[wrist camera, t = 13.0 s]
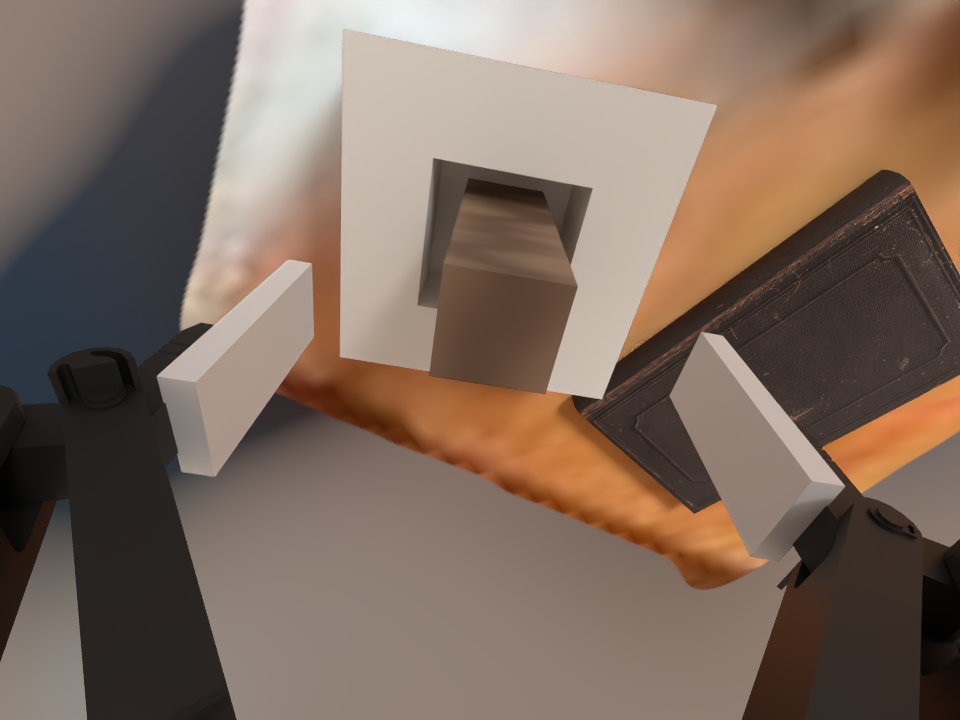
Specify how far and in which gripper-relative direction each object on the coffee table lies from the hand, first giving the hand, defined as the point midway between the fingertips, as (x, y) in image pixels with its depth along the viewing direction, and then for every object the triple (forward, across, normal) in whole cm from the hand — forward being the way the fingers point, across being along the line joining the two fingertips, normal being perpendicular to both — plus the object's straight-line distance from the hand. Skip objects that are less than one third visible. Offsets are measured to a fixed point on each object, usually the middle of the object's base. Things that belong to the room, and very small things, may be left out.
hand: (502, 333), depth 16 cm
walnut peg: (+14, 0, 0) cm, 14 cm away
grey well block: (+15, 0, 0) cm, 15 cm away
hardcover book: (+16, +21, -8) cm, 27 cm away
